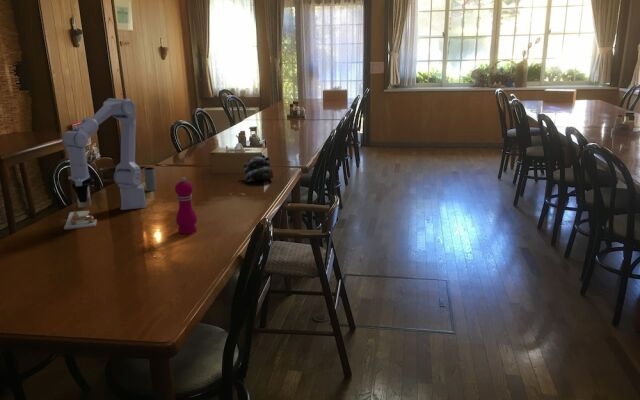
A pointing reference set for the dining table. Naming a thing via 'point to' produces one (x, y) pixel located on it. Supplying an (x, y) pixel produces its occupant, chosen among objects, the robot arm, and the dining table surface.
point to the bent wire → (80, 218)
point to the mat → (79, 213)
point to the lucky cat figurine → (258, 169)
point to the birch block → (88, 202)
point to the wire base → (79, 224)
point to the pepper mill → (185, 208)
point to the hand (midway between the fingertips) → (84, 200)
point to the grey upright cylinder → (150, 179)
